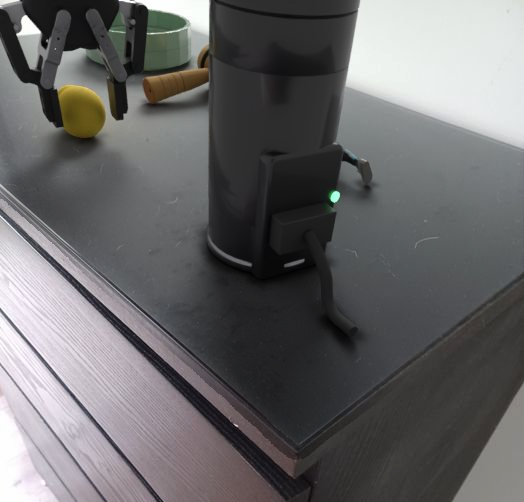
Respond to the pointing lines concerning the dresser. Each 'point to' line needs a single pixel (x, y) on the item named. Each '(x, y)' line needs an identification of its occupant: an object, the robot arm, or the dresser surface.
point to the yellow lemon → (81, 111)
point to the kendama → (177, 80)
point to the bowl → (155, 40)
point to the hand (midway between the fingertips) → (88, 120)
